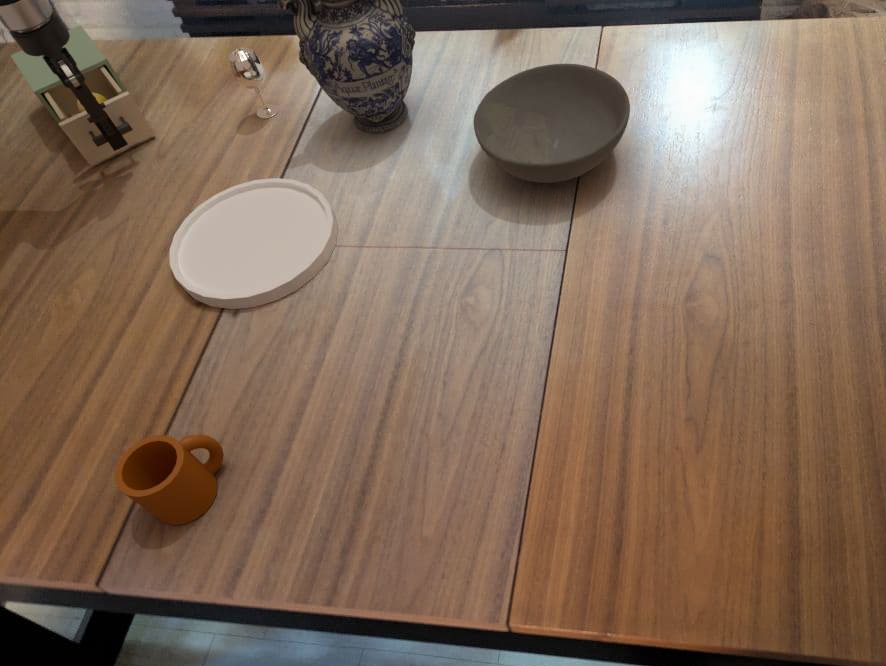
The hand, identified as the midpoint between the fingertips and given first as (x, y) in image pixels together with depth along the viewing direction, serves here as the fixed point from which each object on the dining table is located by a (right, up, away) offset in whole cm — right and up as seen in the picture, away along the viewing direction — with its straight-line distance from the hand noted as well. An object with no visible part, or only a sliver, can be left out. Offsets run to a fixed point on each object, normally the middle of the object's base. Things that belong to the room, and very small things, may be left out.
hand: (120, 145), depth 131 cm
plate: (+29, -21, -9) cm, 37 cm away
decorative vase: (+47, +8, +6) cm, 48 cm away
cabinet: (-16, +15, +17) cm, 28 cm away
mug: (+31, -60, -33) cm, 75 cm away
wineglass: (+23, +11, +11) cm, 28 cm away
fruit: (-8, +7, +9) cm, 14 cm away
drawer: (-7, +5, +9) cm, 12 cm away
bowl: (+81, -4, -4) cm, 81 cm away
